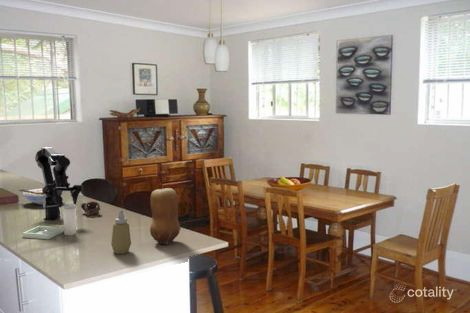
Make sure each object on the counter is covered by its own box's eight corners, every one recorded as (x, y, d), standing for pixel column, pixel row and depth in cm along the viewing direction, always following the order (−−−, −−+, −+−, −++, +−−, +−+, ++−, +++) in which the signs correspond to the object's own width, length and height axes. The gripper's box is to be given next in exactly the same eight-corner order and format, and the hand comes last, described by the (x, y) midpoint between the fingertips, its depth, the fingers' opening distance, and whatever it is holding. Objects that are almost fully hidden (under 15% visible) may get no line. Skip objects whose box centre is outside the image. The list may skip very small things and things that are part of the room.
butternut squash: (153, 238, 208) (153, 185, 205) (182, 239, 207) (182, 186, 204) (146, 247, 194) (147, 190, 191) (177, 248, 193) (178, 191, 191)
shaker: (61, 236, 207) (61, 206, 206) (67, 232, 213) (67, 203, 211) (72, 236, 206) (72, 206, 205) (78, 233, 212) (77, 204, 210)
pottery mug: (104, 213, 255) (103, 202, 250) (95, 224, 247) (94, 213, 242) (85, 206, 256) (84, 196, 252) (75, 217, 249) (75, 206, 244)
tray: (22, 238, 202) (22, 232, 202) (39, 231, 214) (38, 225, 214) (48, 240, 200) (48, 234, 200) (63, 232, 213) (63, 227, 212)
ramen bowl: (72, 203, 276) (72, 190, 275) (39, 209, 257) (39, 195, 256) (47, 198, 289) (47, 185, 288) (14, 203, 270) (13, 190, 269)
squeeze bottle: (113, 249, 191) (112, 207, 189) (132, 249, 191) (132, 207, 189) (109, 255, 183) (109, 212, 181) (129, 255, 183) (129, 212, 181)
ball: (40, 237, 202) (40, 230, 202) (45, 235, 205) (44, 228, 205) (47, 238, 201) (47, 231, 201) (51, 236, 205) (51, 229, 204)
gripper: (69, 184, 234) (75, 211, 228) (34, 183, 220) (40, 212, 214) (80, 174, 228) (86, 202, 222) (45, 172, 214) (51, 202, 208)
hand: (66, 205), depth 217 cm, fingers open, 9 cm apart
